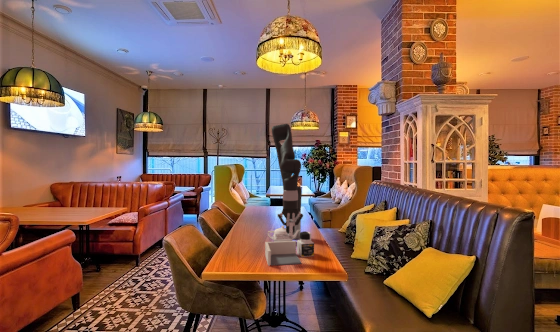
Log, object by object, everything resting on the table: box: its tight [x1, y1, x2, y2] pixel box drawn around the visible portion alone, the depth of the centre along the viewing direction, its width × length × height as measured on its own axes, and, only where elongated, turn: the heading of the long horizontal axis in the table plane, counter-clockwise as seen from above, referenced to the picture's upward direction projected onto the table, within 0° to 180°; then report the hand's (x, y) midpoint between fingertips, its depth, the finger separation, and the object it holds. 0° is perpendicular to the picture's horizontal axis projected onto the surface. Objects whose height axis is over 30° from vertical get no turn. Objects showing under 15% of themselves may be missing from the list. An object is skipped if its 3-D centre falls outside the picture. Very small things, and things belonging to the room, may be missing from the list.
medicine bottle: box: [296, 231, 315, 258], centre depth 156 cm, size 7×7×12 cm
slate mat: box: [271, 253, 302, 266], centre depth 148 cm, size 14×15×1 cm
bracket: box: [275, 220, 294, 240], centre depth 147 cm, size 8×5×8 cm, turn 98°
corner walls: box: [264, 240, 297, 267], centre depth 149 cm, size 15×16×7 cm
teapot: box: [266, 225, 300, 242], centre depth 179 cm, size 20×12×10 cm, turn 89°
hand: (290, 233), depth 148 cm, fingers closed on bracket, 1 cm apart
